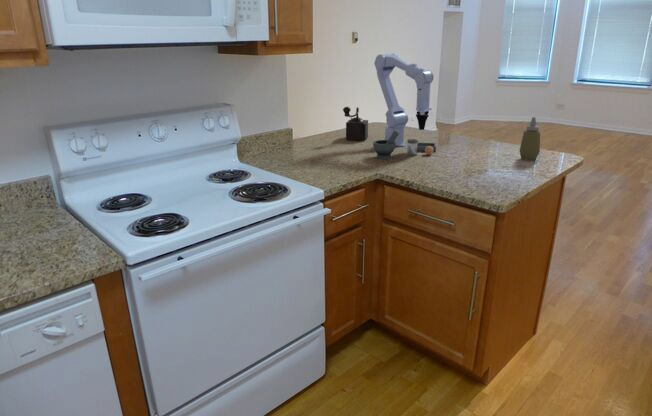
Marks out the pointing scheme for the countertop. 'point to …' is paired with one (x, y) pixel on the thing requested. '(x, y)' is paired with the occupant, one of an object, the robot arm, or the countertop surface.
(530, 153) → the squeeze bottle
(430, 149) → the ball
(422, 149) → the dish
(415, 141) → the shaker
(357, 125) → the manual coffee grinder
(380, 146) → the mortar and pestle
